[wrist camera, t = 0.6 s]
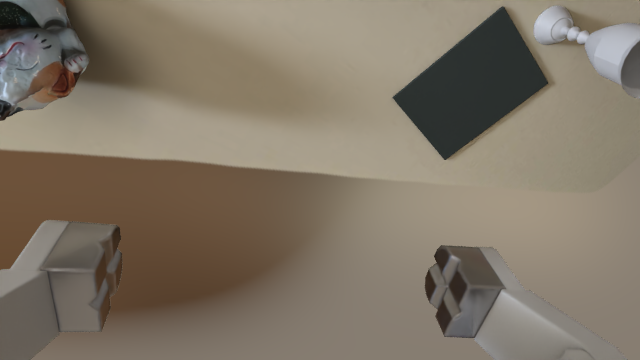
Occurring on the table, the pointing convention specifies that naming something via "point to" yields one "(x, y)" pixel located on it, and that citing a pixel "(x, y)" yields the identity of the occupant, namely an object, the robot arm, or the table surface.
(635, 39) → the chalice
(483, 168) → the table surface
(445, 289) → the robot arm
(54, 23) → the lucky cat figurine
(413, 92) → the mat
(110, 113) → the table surface
